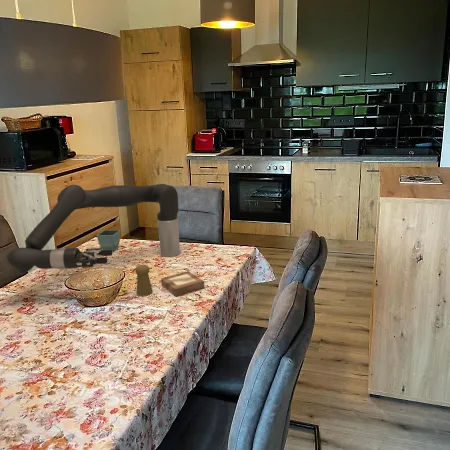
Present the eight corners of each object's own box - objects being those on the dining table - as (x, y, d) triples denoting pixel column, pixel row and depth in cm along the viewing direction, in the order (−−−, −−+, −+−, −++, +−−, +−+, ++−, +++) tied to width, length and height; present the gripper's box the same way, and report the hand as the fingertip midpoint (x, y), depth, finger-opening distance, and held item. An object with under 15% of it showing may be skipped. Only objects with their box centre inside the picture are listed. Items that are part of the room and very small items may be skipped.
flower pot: (98, 252, 215) (96, 235, 213) (106, 246, 223) (103, 230, 221) (115, 252, 214) (113, 235, 211) (122, 247, 222) (120, 230, 219)
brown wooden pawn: (155, 292, 167) (153, 265, 164) (143, 297, 163) (140, 269, 160) (146, 288, 171) (143, 261, 168) (133, 293, 167) (130, 266, 164)
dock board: (161, 285, 173) (161, 278, 172) (188, 278, 179) (188, 270, 178) (176, 296, 162) (175, 289, 161) (204, 288, 168) (204, 280, 167)
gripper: (57, 255, 154) (104, 253, 155) (70, 242, 168) (112, 240, 168) (60, 275, 156) (106, 272, 157) (72, 261, 170) (114, 259, 170)
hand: (109, 256), depth 163 cm, fingers open, 8 cm apart
